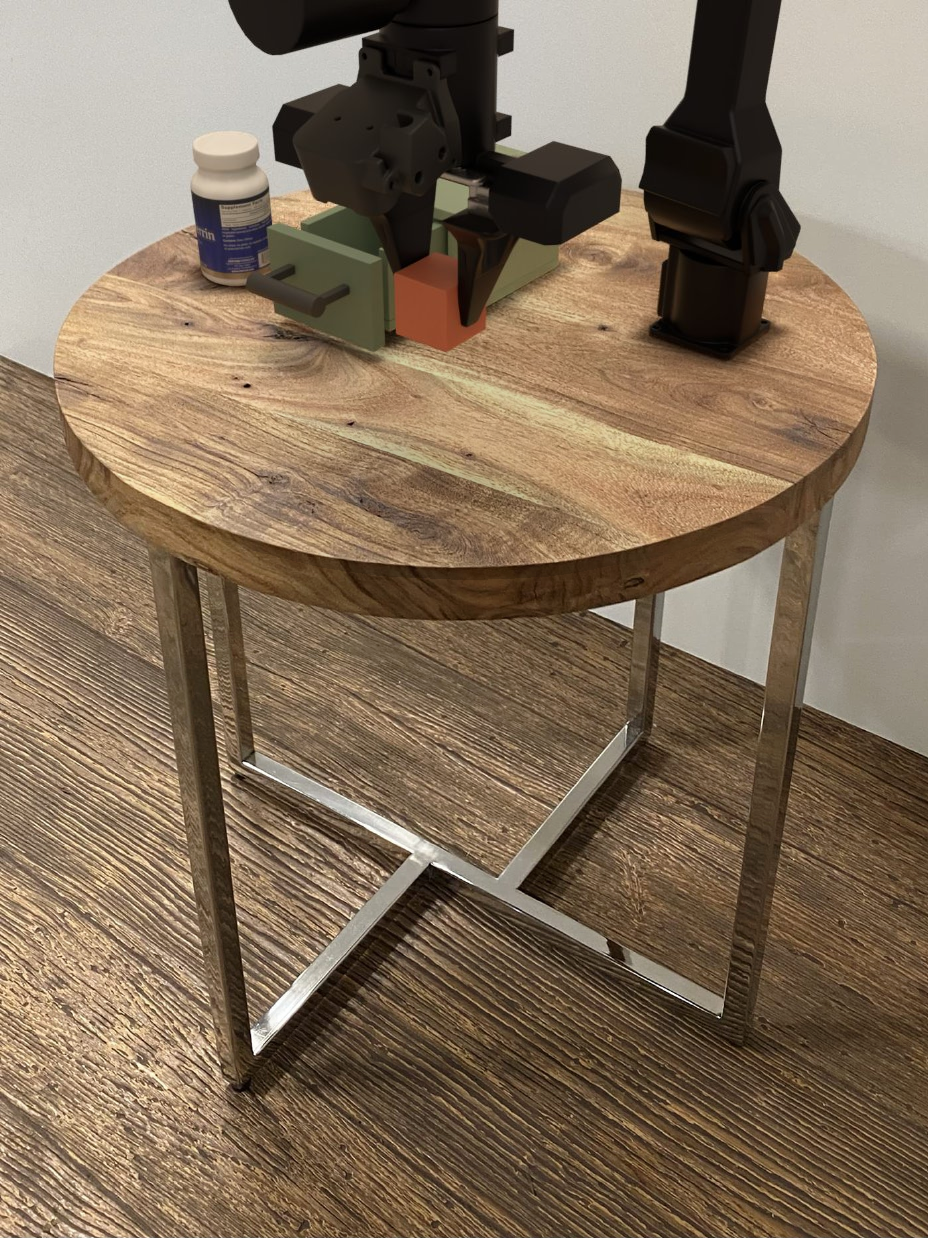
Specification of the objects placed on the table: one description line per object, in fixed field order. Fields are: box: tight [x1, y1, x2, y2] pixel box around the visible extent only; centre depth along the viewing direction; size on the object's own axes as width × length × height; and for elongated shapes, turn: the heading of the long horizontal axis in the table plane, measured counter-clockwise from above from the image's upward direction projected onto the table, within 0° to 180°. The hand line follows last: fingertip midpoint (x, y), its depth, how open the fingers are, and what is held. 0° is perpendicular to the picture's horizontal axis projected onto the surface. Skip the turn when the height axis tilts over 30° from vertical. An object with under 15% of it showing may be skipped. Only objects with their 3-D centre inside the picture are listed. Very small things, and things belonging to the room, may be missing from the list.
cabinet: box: [433, 143, 560, 308], centre depth 97 cm, size 13×11×8 cm
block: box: [394, 252, 487, 353], centre depth 71 cm, size 4×4×4 cm
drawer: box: [245, 204, 448, 353], centre depth 91 cm, size 15×9×6 cm, turn 142°
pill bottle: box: [190, 130, 274, 287], centre depth 97 cm, size 6×6×10 cm
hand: (440, 314), depth 72 cm, fingers closed on block, 3 cm apart
